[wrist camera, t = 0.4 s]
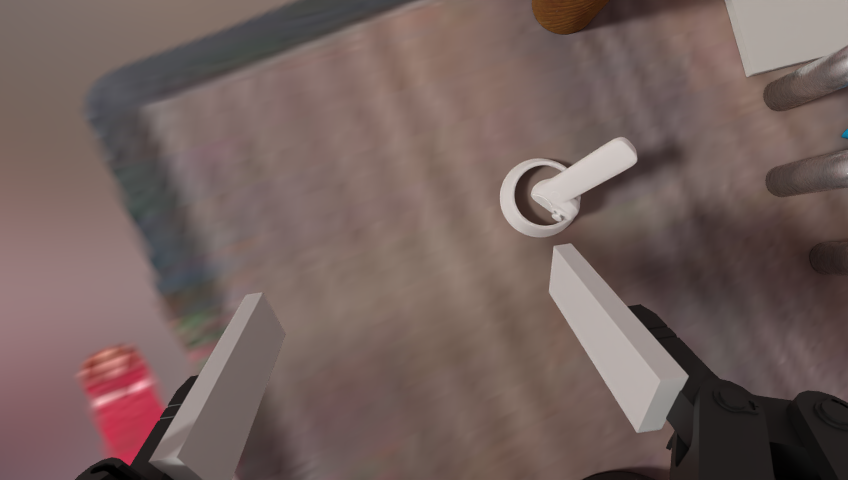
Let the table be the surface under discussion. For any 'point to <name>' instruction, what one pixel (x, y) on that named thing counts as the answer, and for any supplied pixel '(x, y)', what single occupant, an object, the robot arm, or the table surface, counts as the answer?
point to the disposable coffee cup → (566, 14)
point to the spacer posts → (817, 171)
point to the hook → (565, 185)
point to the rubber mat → (786, 31)
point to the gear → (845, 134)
